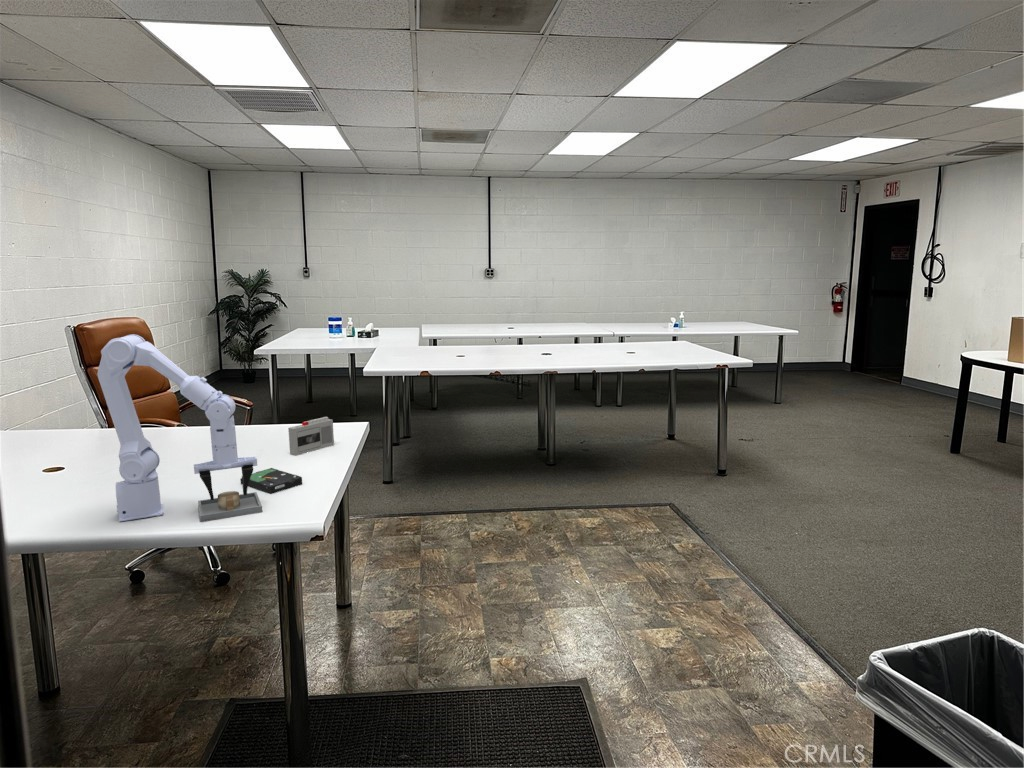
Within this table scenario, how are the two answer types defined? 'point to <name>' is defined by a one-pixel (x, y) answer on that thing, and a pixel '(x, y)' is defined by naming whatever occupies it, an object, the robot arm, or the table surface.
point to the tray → (213, 512)
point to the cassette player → (311, 436)
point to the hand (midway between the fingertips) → (228, 496)
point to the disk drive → (273, 480)
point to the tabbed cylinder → (228, 500)
